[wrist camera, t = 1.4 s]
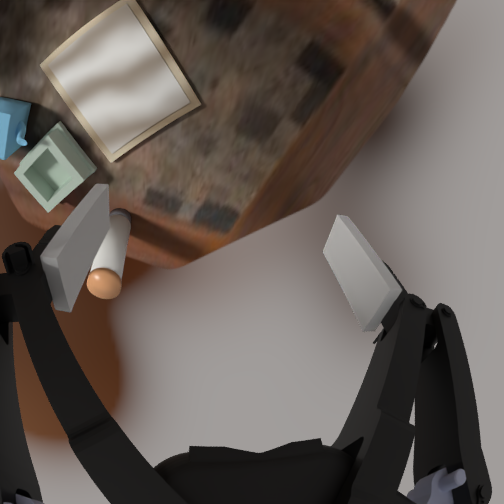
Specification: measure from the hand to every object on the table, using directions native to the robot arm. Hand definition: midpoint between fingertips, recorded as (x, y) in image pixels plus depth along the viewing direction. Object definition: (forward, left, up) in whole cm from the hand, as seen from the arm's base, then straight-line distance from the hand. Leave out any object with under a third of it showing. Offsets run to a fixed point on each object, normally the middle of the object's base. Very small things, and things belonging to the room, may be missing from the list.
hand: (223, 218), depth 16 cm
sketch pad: (-11, -6, -24) cm, 27 cm away
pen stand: (-7, -20, -24) cm, 32 cm away
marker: (+6, -18, -24) cm, 31 cm away
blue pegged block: (-17, -21, -24) cm, 36 cm away
